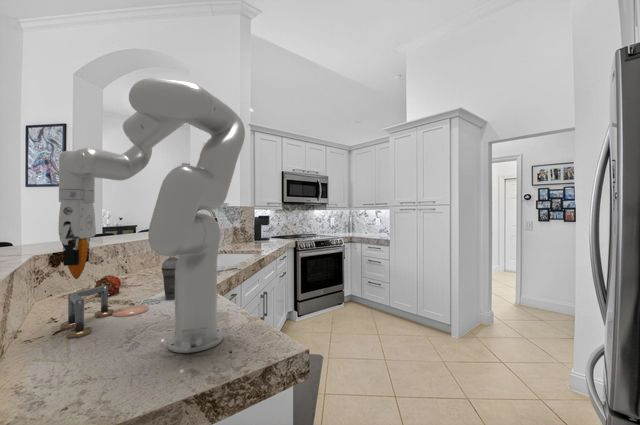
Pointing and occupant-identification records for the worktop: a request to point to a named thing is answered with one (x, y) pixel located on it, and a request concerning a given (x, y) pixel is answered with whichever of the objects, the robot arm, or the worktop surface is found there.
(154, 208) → the robot arm
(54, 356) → the worktop surface
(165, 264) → the beverage cup
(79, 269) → the carrot
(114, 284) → the dragon fruit
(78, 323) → the grey cabinet handle
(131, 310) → the terracotta coaster
